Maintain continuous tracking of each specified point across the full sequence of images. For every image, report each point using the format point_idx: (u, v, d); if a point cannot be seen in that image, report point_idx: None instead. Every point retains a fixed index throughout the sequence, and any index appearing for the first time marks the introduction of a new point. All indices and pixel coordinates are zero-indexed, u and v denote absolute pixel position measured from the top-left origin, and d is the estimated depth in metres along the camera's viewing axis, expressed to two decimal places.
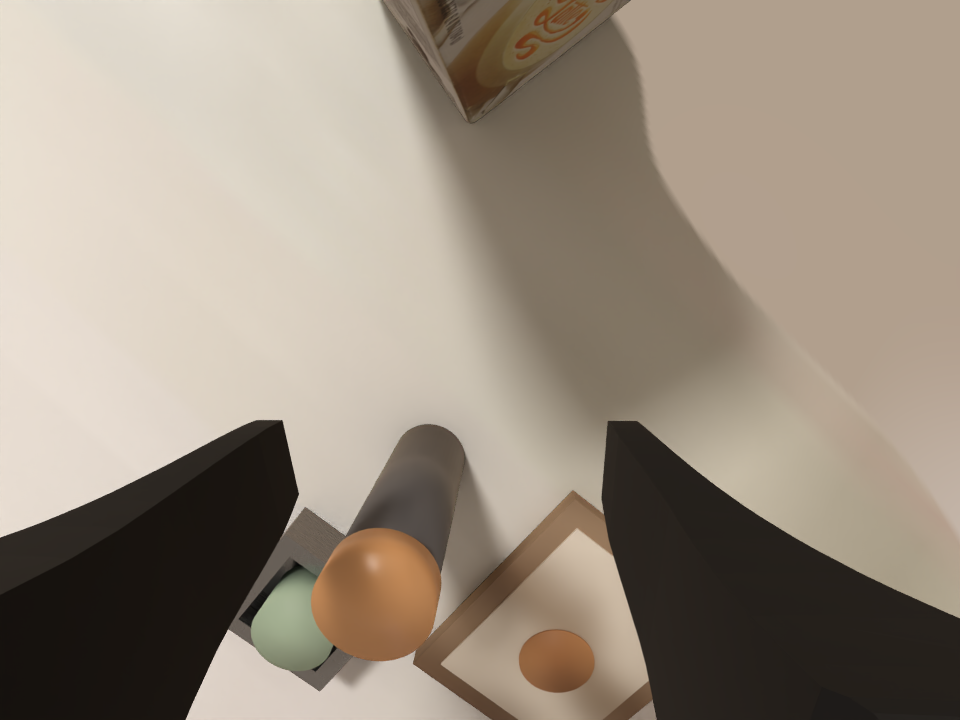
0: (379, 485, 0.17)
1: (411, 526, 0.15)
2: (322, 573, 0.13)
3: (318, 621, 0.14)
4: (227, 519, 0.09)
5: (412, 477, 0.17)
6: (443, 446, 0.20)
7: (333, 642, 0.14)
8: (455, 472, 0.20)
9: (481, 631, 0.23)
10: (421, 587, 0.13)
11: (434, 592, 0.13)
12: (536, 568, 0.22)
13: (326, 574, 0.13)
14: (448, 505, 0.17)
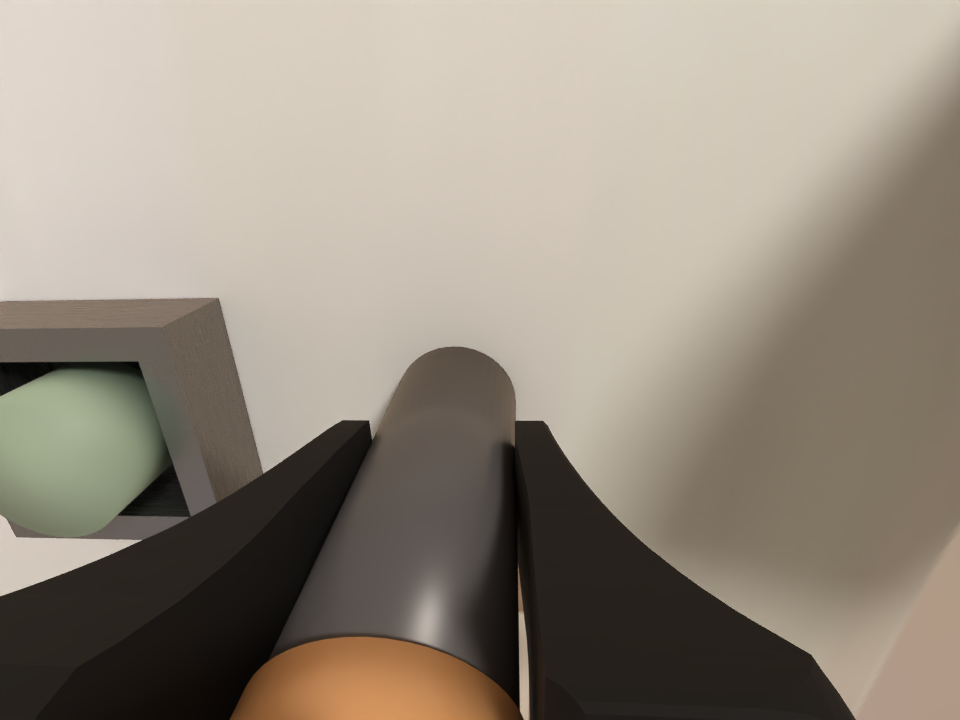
0: (447, 468, 0.08)
1: (516, 677, 0.06)
2: None
3: None
4: (331, 521, 0.09)
5: (505, 499, 0.08)
6: None
7: None
8: None
9: None
10: None
11: None
12: None
13: None
14: None
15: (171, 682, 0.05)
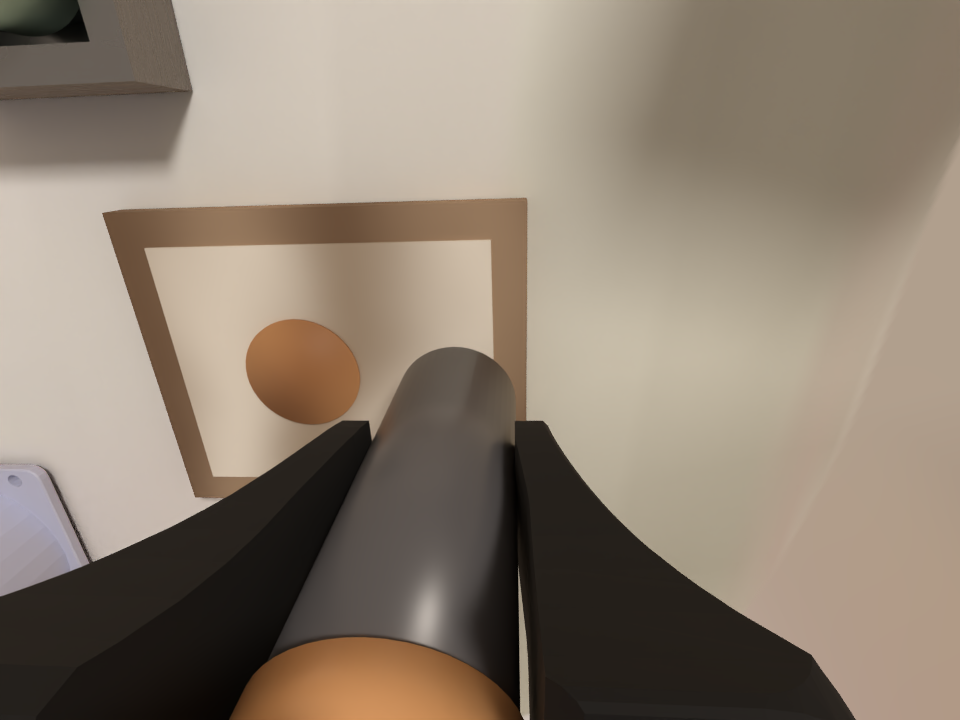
0: (447, 469, 0.08)
1: (516, 678, 0.06)
2: None
3: None
4: (331, 520, 0.09)
5: (505, 500, 0.08)
6: None
7: None
8: None
9: (242, 255, 0.14)
10: None
11: None
12: (391, 242, 0.14)
13: None
14: None
15: (171, 682, 0.05)
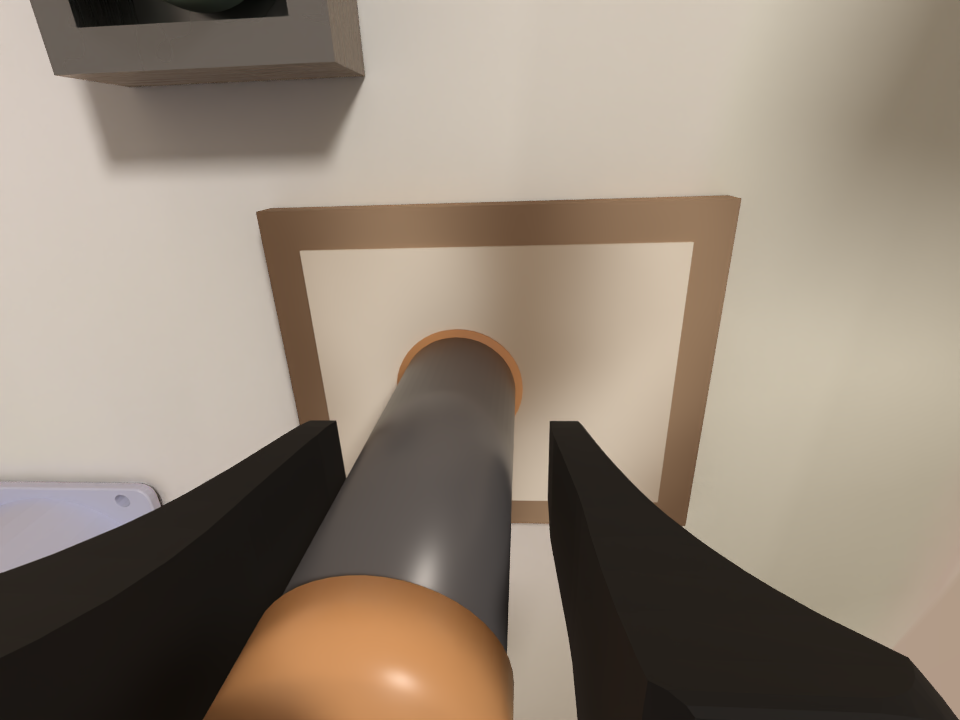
0: (445, 442, 0.09)
1: (503, 625, 0.07)
2: (327, 680, 0.05)
3: None
4: (292, 520, 0.09)
5: (499, 473, 0.09)
6: (513, 416, 0.12)
7: None
8: None
9: (408, 259, 0.13)
10: None
11: None
12: (579, 245, 0.12)
13: (335, 689, 0.05)
14: None
15: (100, 679, 0.05)
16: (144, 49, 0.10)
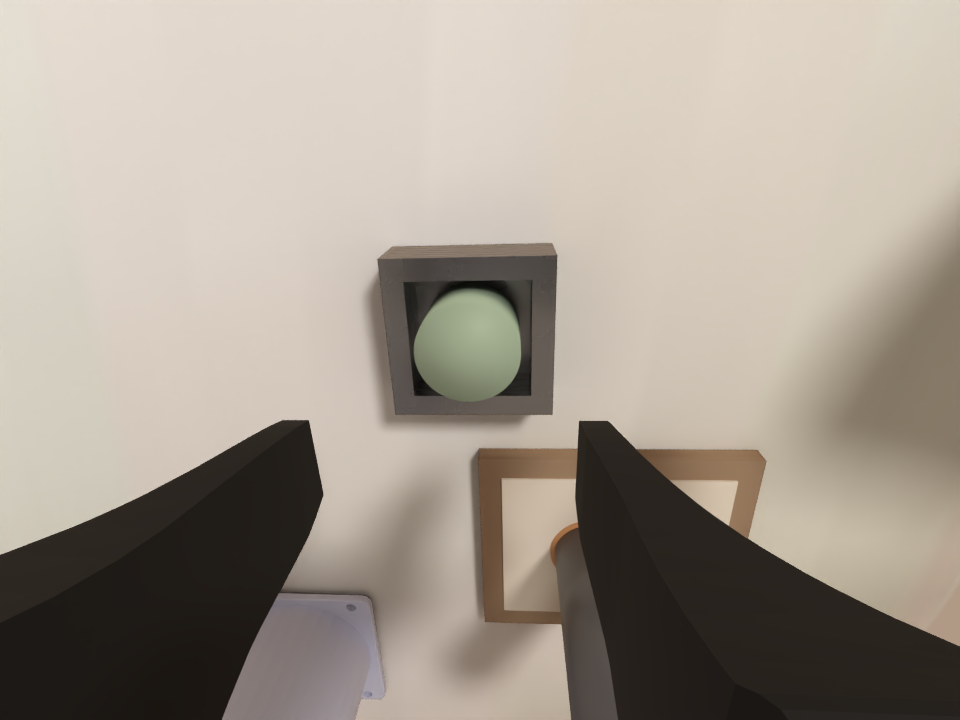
0: None
1: None
2: None
3: None
4: (258, 519, 0.09)
5: None
6: None
7: None
8: None
9: (567, 485, 0.21)
10: None
11: None
12: (670, 480, 0.21)
13: None
14: None
15: (41, 677, 0.05)
16: (449, 406, 0.19)
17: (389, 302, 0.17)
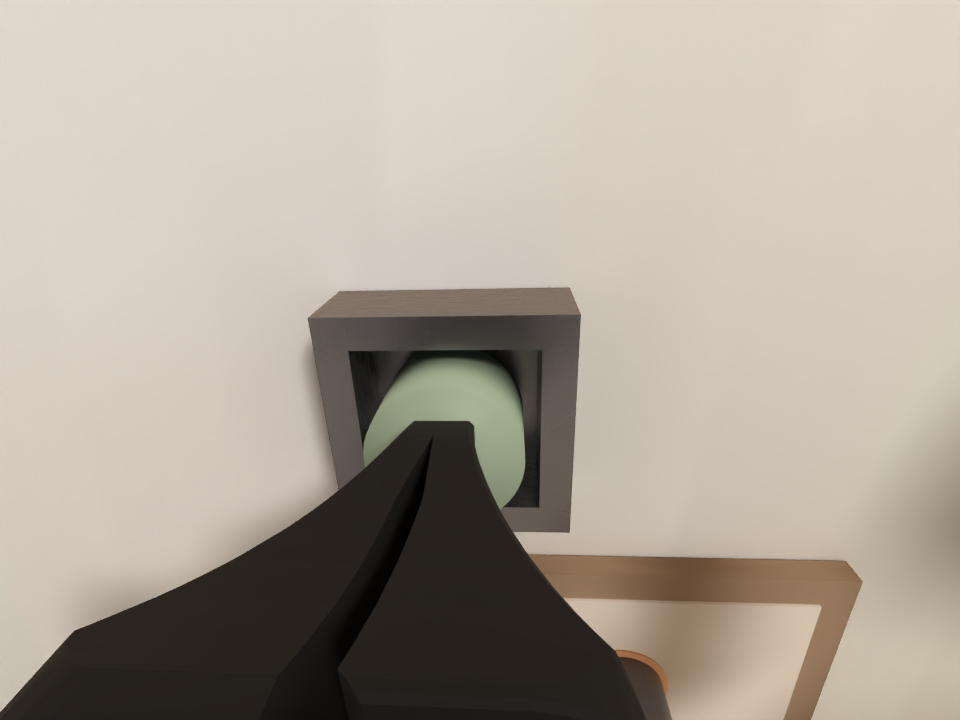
0: None
1: None
2: None
3: None
4: None
5: None
6: None
7: None
8: None
9: (586, 607, 0.16)
10: None
11: None
12: (728, 603, 0.15)
13: None
14: None
15: (331, 689, 0.05)
16: None
17: (329, 379, 0.11)
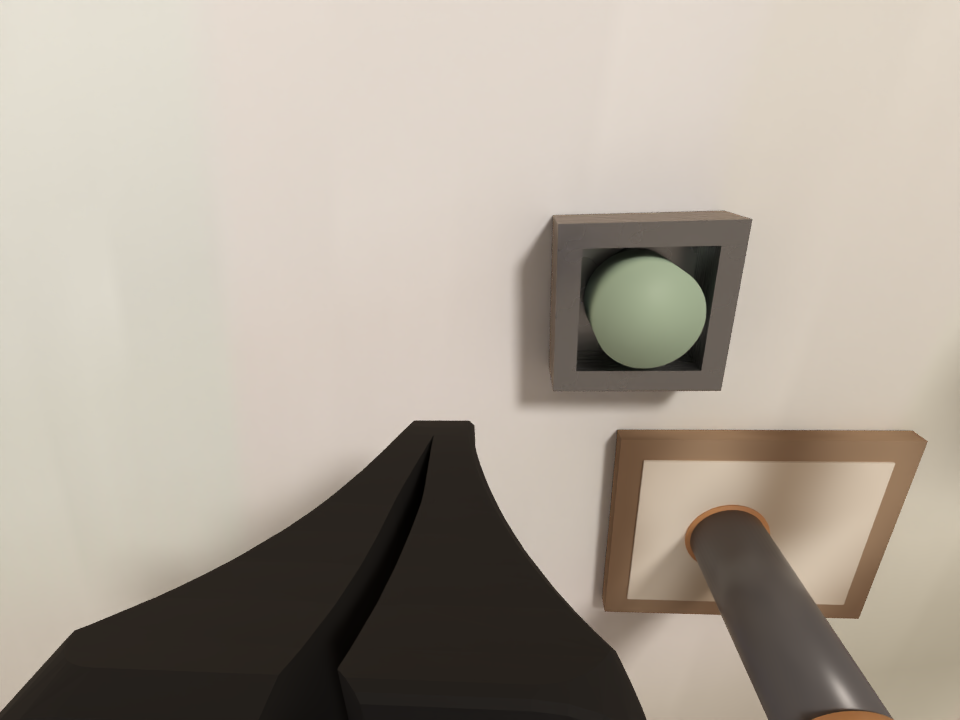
0: (811, 616, 0.16)
1: None
2: None
3: None
4: None
5: (832, 628, 0.17)
6: None
7: None
8: None
9: (713, 467, 0.20)
10: None
11: None
12: (823, 462, 0.20)
13: None
14: None
15: (331, 688, 0.05)
16: (611, 381, 0.18)
17: (564, 270, 0.16)
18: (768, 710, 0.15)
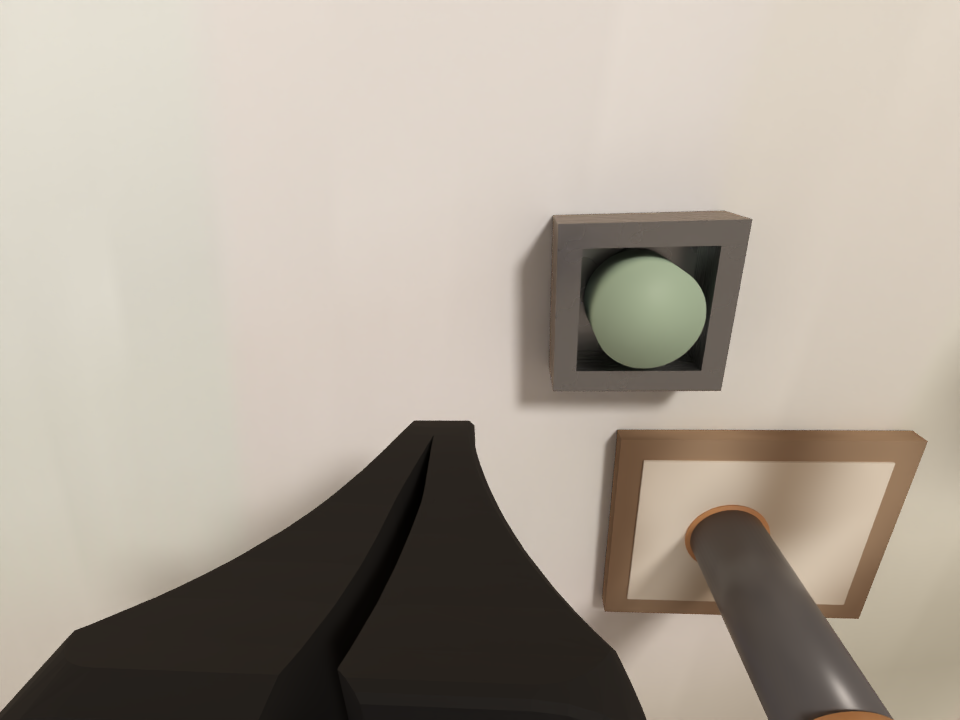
0: (811, 616, 0.16)
1: None
2: None
3: None
4: None
5: (832, 628, 0.17)
6: None
7: None
8: None
9: (713, 467, 0.20)
10: None
11: None
12: (823, 462, 0.20)
13: None
14: None
15: (331, 688, 0.05)
16: (611, 381, 0.18)
17: (564, 270, 0.16)
18: (768, 710, 0.15)
